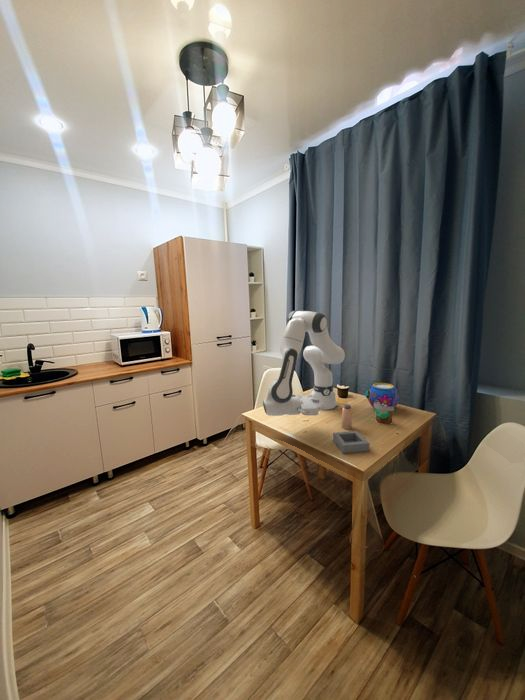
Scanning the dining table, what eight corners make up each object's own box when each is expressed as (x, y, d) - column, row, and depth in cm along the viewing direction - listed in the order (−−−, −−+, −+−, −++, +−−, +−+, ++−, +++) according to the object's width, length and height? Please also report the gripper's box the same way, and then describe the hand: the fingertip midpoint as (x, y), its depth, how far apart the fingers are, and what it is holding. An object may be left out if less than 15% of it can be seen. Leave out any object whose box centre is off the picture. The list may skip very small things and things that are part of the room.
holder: (333, 440, 131) (333, 432, 131) (356, 438, 133) (357, 430, 132) (342, 453, 120) (343, 445, 119) (369, 451, 121) (369, 443, 120)
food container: (368, 418, 155) (368, 401, 153) (377, 416, 157) (377, 399, 155) (384, 426, 144) (385, 408, 142) (393, 424, 146) (394, 406, 144)
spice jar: (340, 425, 147) (340, 404, 144) (349, 425, 147) (349, 403, 145) (344, 430, 142) (344, 407, 140) (353, 429, 142) (353, 407, 140)
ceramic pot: (372, 401, 179) (372, 379, 177) (401, 407, 168) (403, 384, 166) (362, 410, 166) (363, 386, 163) (394, 417, 155) (395, 391, 152)
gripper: (300, 407, 128) (328, 405, 130) (291, 393, 148) (315, 392, 150) (300, 419, 129) (328, 417, 131) (291, 404, 149) (315, 403, 151)
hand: (321, 404), depth 140 cm, fingers open, 8 cm apart
